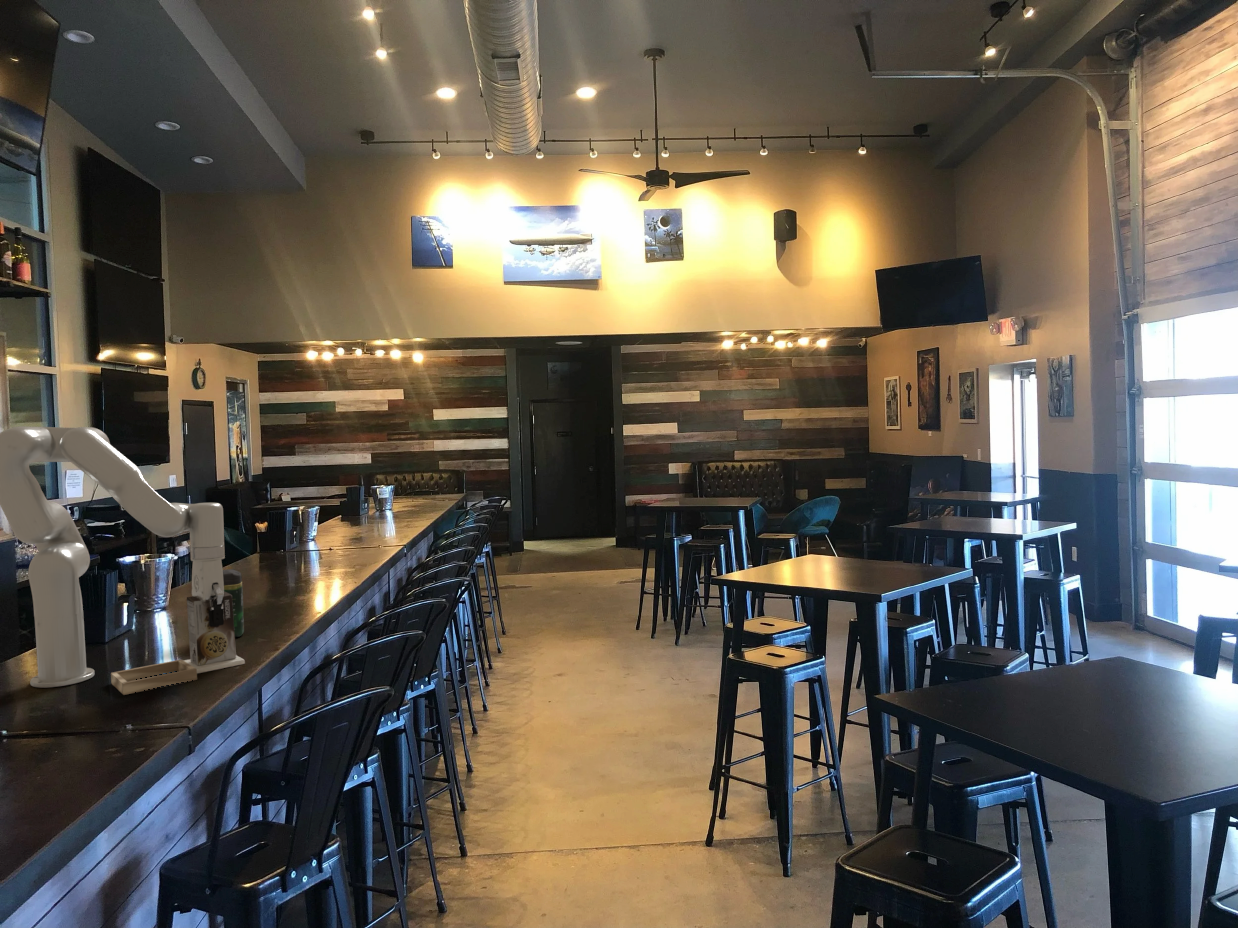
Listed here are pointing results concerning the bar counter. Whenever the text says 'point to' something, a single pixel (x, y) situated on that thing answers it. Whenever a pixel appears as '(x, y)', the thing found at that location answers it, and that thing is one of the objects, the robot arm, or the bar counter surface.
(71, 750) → the bar counter surface
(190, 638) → the coffee box
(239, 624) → the coffee jar
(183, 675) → the holder frame
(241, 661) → the tile
